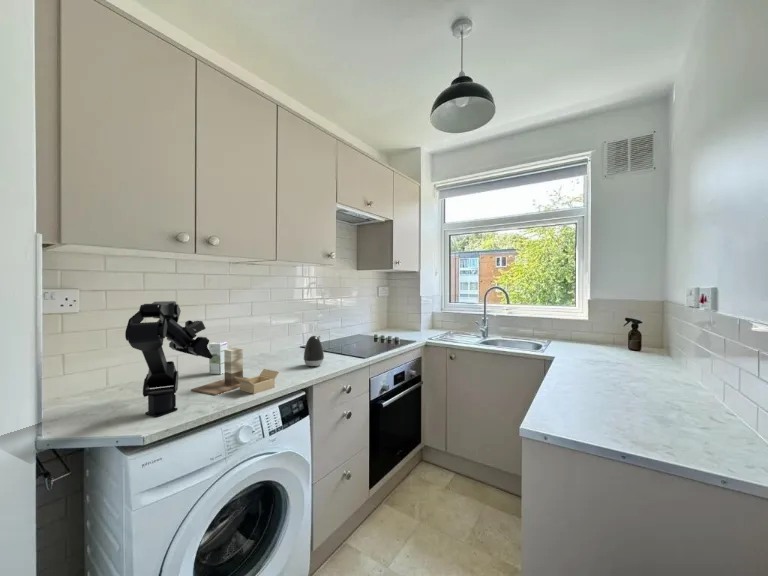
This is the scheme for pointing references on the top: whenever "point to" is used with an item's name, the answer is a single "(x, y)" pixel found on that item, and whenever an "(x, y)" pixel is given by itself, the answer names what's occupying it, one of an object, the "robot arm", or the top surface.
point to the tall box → (233, 365)
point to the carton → (258, 382)
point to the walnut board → (216, 387)
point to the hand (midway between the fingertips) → (205, 356)
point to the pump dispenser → (313, 352)
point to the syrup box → (217, 357)
